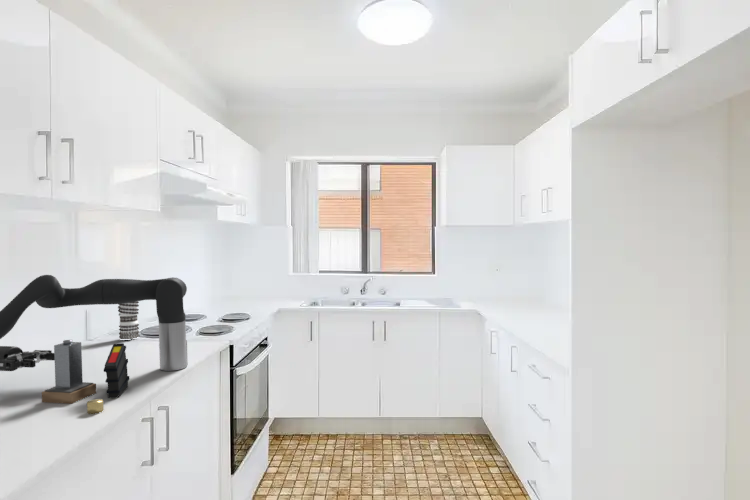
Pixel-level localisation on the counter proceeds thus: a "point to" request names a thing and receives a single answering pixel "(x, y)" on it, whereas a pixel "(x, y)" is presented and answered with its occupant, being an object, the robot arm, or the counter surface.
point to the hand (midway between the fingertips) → (46, 360)
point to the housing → (68, 365)
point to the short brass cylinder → (95, 406)
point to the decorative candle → (128, 320)
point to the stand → (68, 393)
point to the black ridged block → (116, 371)
